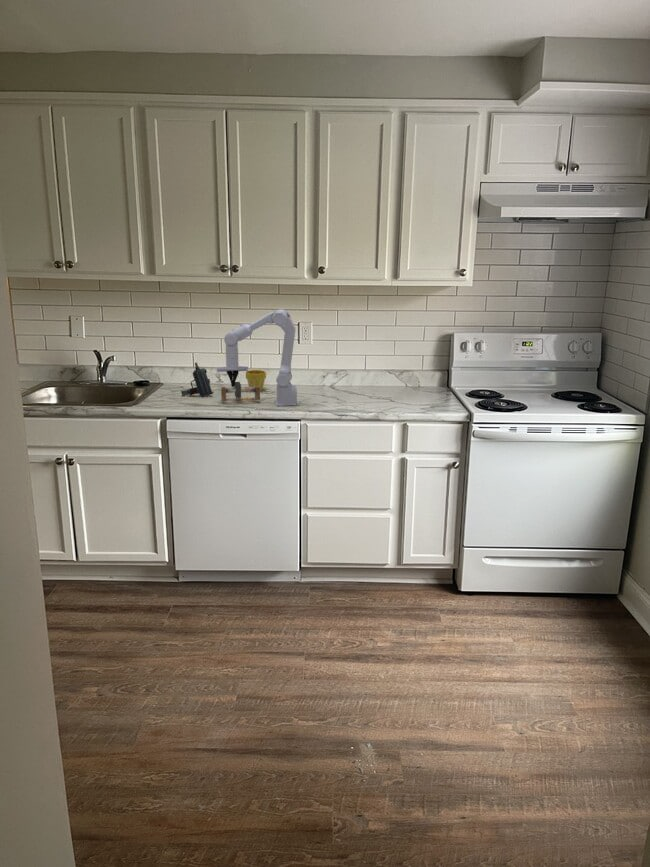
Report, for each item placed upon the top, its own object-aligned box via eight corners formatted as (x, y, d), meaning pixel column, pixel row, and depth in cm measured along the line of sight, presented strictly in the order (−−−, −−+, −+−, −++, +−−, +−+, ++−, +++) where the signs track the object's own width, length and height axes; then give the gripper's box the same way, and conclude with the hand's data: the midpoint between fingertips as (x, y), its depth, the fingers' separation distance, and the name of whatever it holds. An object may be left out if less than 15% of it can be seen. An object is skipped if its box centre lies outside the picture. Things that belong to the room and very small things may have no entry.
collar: (239, 394, 308) (239, 381, 306) (241, 397, 302) (240, 384, 300) (234, 394, 307) (234, 381, 305) (236, 398, 301) (235, 384, 299)
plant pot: (264, 392, 324) (264, 374, 321) (244, 392, 324) (244, 373, 322) (267, 388, 334) (267, 369, 331) (247, 387, 334) (247, 369, 331)
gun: (174, 367, 312) (203, 360, 312) (184, 400, 317) (213, 392, 317) (173, 369, 310) (202, 361, 309) (184, 401, 315) (213, 393, 314)
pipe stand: (258, 399, 310) (258, 385, 308) (260, 402, 305) (260, 387, 303) (221, 401, 307) (220, 386, 304) (222, 404, 301) (221, 389, 299)
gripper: (246, 356, 304) (247, 384, 308) (215, 356, 301) (217, 385, 305) (248, 358, 297) (248, 387, 301) (216, 359, 294) (217, 388, 298)
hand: (232, 386), depth 303 cm, fingers closed
